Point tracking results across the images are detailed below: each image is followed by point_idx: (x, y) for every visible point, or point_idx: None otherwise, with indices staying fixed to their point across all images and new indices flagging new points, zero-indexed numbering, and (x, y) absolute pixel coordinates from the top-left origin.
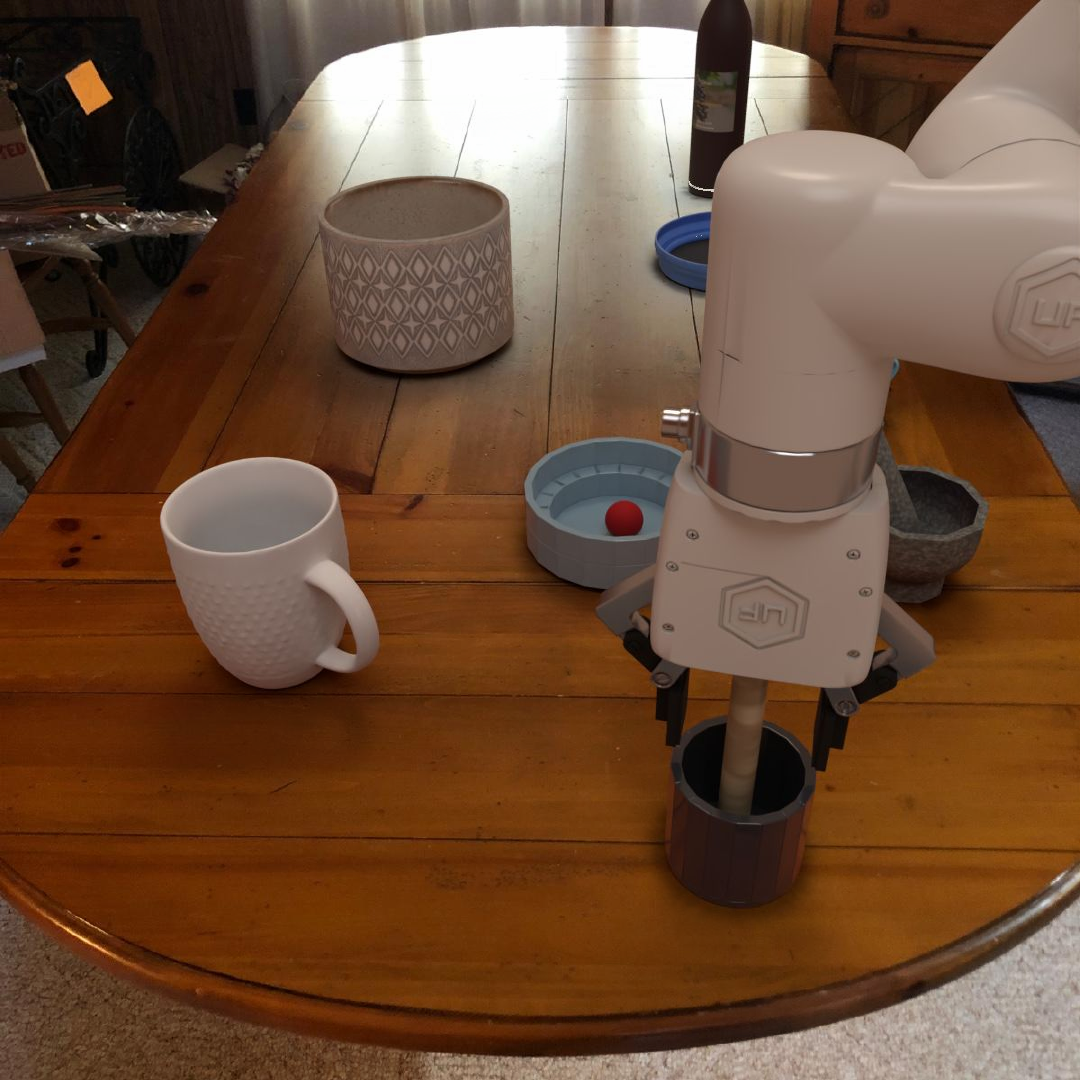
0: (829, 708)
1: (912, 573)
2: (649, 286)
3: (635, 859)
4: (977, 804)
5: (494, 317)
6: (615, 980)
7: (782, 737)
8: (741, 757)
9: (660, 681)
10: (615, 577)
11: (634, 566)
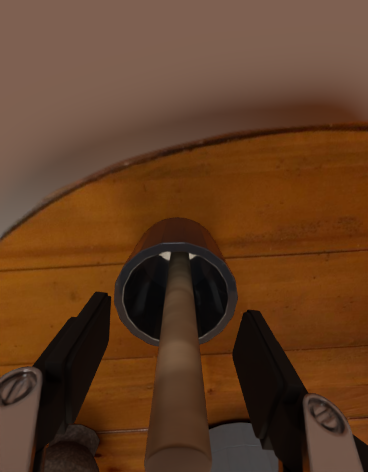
0: (56, 378)
1: (57, 456)
2: None
3: (235, 246)
4: (33, 298)
5: None
6: (251, 161)
7: (142, 330)
8: (180, 304)
9: (322, 407)
10: (241, 434)
11: (232, 445)
